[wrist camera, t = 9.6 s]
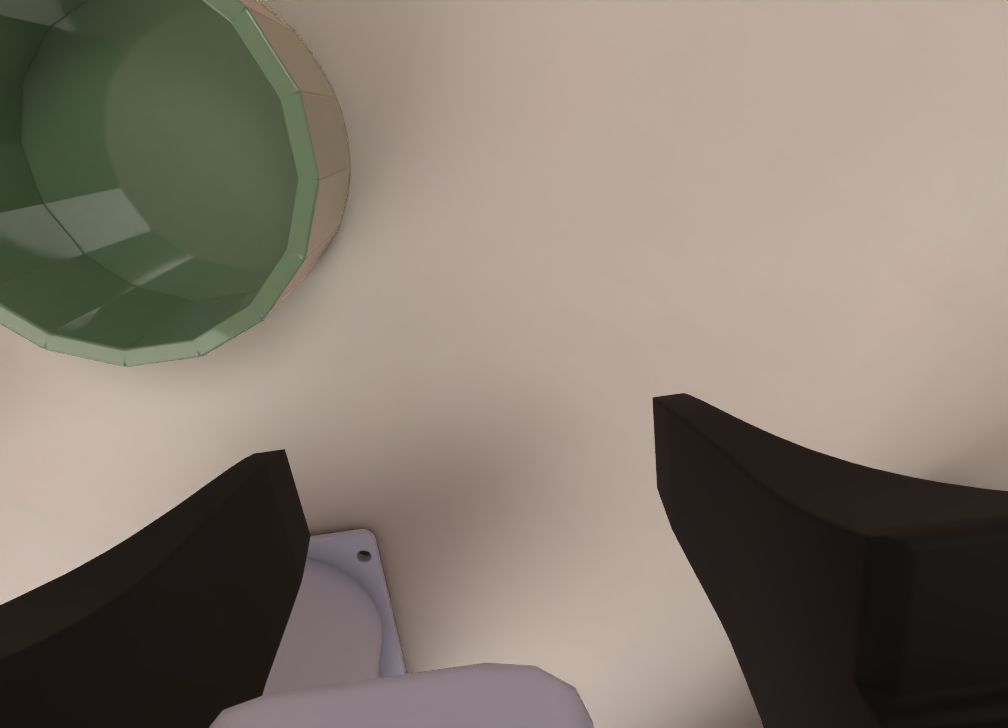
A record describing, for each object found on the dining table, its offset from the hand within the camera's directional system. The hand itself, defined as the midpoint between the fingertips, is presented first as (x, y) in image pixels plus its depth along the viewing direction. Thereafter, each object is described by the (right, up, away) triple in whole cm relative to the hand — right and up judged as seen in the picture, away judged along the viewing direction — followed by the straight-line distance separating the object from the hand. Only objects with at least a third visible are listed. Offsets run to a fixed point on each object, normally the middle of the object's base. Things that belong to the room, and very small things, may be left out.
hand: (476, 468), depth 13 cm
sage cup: (-9, +9, +7) cm, 15 cm away
